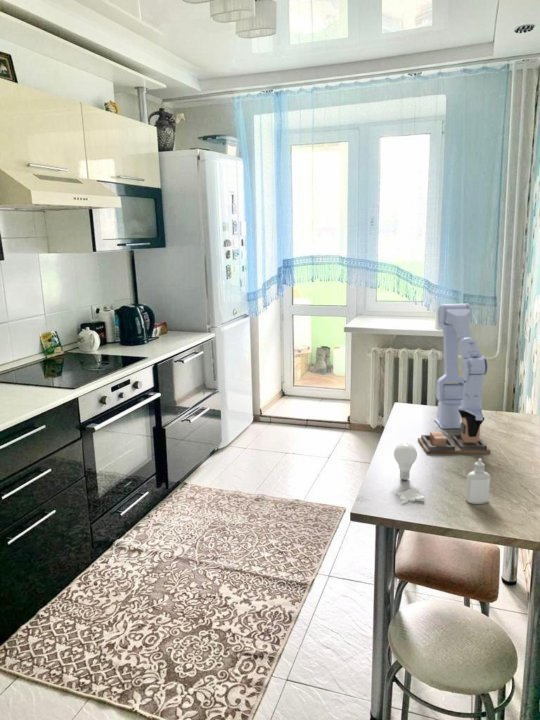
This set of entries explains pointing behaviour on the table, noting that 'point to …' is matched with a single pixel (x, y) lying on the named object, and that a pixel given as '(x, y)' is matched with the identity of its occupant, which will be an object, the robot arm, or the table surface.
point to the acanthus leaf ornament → (410, 495)
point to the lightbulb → (405, 458)
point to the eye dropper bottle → (478, 484)
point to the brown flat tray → (450, 444)
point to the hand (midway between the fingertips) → (469, 433)
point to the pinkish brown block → (465, 432)
